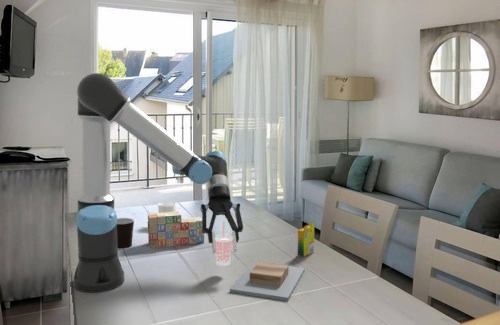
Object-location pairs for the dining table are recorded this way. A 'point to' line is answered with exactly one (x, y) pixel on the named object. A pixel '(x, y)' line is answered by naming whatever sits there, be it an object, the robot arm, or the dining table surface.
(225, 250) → the beverage cup
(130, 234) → the coffee mug
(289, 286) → the base board
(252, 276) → the walnut pedestal
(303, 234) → the crayon box
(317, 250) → the dining table surface
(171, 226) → the stack of blocks
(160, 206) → the white cup
